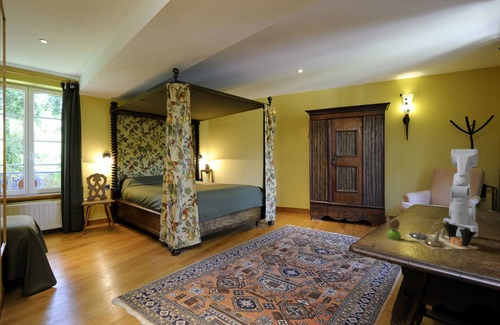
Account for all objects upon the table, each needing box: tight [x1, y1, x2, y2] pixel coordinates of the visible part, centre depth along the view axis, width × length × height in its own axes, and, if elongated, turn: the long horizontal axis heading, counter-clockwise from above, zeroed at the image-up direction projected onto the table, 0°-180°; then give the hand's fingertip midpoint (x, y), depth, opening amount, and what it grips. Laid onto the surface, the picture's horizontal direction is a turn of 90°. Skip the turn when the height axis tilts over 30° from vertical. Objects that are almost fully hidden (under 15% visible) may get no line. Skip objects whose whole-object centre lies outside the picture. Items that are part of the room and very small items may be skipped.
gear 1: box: [409, 232, 428, 240], centre depth 114 cm, size 7×7×1 cm
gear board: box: [404, 228, 479, 250], centre depth 110 cm, size 20×18×5 cm
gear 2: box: [424, 239, 445, 248], centre depth 105 cm, size 7×7×2 cm
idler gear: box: [450, 236, 466, 247], centre depth 106 cm, size 6×6×2 cm
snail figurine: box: [386, 215, 402, 241], centre depth 113 cm, size 5×6×12 cm
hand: (458, 242), depth 106 cm, fingers closed on idler gear, 6 cm apart
